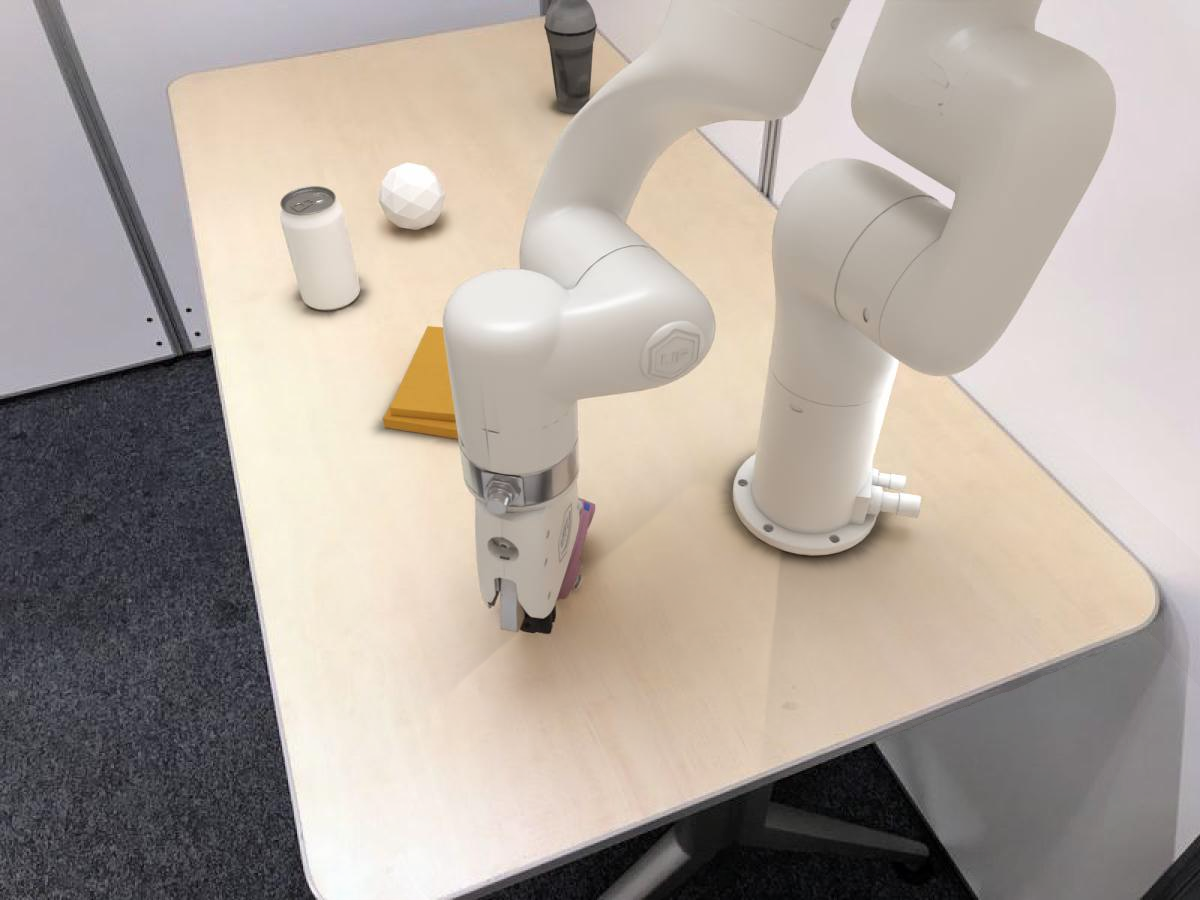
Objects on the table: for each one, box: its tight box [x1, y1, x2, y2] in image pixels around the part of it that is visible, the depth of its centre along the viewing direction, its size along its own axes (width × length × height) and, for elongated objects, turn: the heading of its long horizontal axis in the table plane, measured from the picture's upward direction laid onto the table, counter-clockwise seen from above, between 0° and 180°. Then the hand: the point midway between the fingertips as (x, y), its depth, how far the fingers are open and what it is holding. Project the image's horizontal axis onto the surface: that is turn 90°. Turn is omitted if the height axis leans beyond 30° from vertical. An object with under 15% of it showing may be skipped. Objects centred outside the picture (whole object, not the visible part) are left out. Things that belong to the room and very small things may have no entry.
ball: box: [377, 162, 446, 231], centre depth 116 cm, size 8×8×8 cm
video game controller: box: [556, 497, 596, 602], centre depth 78 cm, size 10×5×7 cm, turn 170°
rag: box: [382, 325, 458, 440], centre depth 96 cm, size 10×14×3 cm
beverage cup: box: [543, 0, 598, 114], centre depth 134 cm, size 7×7×20 cm
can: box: [279, 185, 361, 312], centre depth 104 cm, size 6×6×12 cm
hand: (533, 622), depth 75 cm, fingers closed
